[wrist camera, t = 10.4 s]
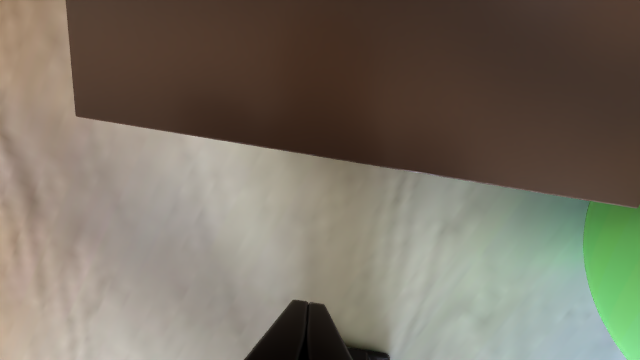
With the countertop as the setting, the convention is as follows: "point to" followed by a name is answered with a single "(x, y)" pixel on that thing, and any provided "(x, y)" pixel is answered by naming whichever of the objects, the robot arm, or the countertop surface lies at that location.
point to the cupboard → (382, 83)
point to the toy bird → (615, 271)
